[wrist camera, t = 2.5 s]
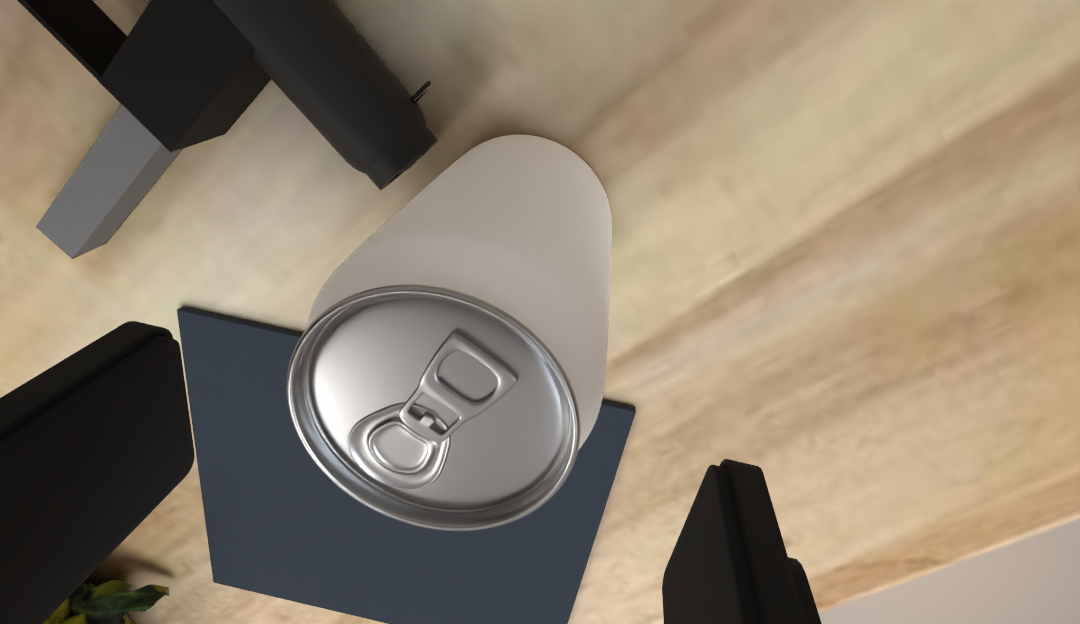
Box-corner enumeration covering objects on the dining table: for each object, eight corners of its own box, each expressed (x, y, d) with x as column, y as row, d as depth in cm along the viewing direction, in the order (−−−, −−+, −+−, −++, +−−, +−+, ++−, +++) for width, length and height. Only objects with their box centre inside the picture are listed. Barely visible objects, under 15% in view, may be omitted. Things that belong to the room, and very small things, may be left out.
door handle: (178, 374, 24) (451, 126, 17) (-338, -72, 18) (-246, -719, 11) (230, 332, 26) (481, 106, 20) (-202, -64, 21) (-62, -575, 14)
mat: (217, 576, 34) (213, 582, 33) (182, 305, 25) (176, 309, 25) (555, 656, 33) (554, 663, 33) (635, 406, 25) (636, 411, 24)
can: (406, 229, 22) (210, 426, 12) (507, 90, 19) (371, 180, 9) (538, 330, 23) (470, 590, 13) (650, 212, 21) (681, 420, 10)
